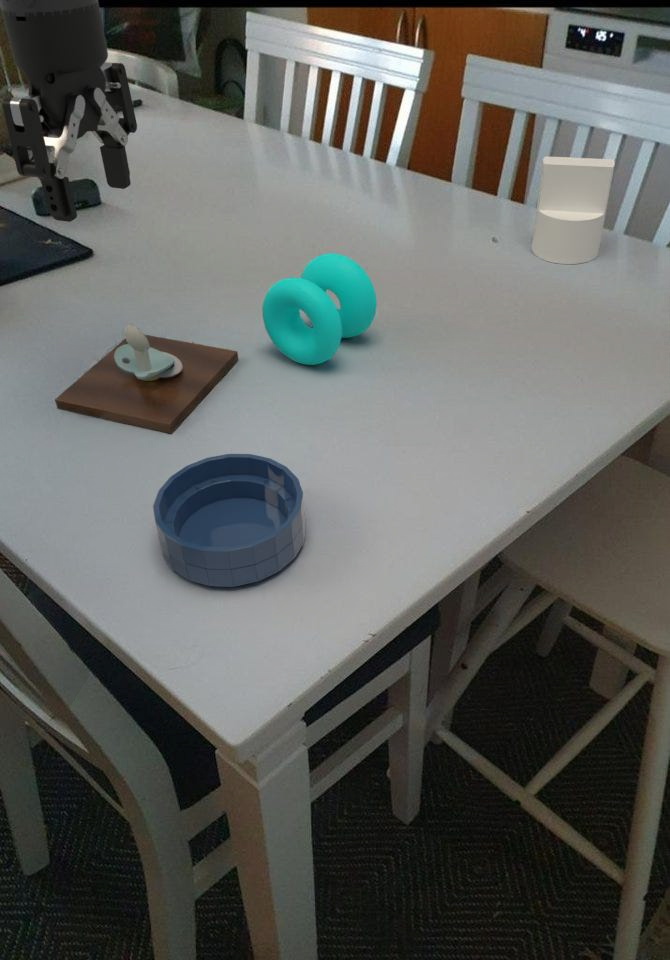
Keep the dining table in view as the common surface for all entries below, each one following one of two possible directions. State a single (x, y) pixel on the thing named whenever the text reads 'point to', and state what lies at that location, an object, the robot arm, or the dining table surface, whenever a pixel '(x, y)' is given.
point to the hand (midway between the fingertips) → (93, 202)
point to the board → (149, 387)
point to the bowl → (230, 519)
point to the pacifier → (145, 357)
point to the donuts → (319, 308)
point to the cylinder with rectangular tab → (571, 208)
